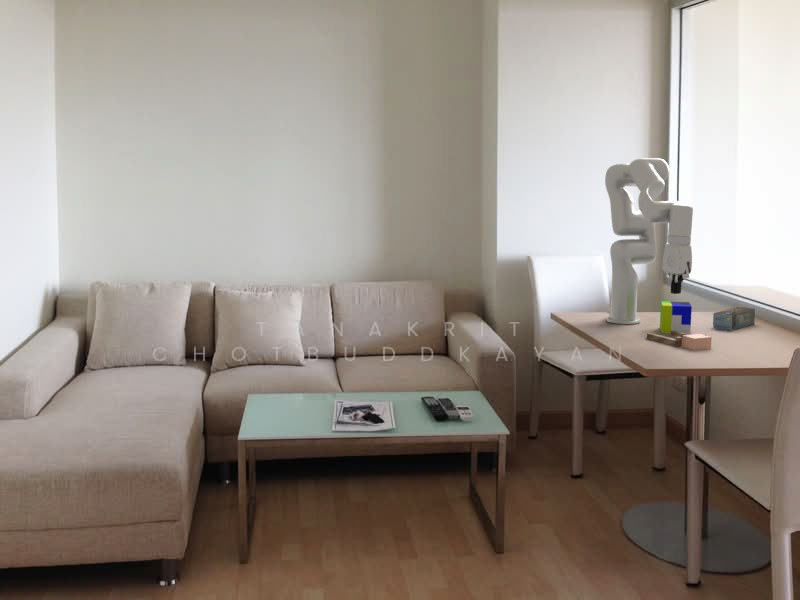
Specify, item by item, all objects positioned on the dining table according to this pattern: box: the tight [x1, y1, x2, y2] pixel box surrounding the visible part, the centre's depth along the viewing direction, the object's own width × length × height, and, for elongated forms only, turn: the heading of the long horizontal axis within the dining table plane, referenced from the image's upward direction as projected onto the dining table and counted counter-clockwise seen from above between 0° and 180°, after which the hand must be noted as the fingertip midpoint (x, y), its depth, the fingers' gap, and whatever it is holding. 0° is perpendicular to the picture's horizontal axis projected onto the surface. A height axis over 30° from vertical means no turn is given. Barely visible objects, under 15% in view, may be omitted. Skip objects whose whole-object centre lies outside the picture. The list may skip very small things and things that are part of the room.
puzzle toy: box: [659, 301, 693, 335], centre depth 350 cm, size 10×10×10 cm
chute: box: [646, 331, 707, 348], centre depth 331 cm, size 16×12×3 cm
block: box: [681, 333, 712, 351], centre depth 321 cm, size 6×7×4 cm
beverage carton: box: [712, 306, 756, 331], centre depth 360 cm, size 8×19×7 cm, turn 135°
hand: (675, 293), depth 330 cm, fingers closed
